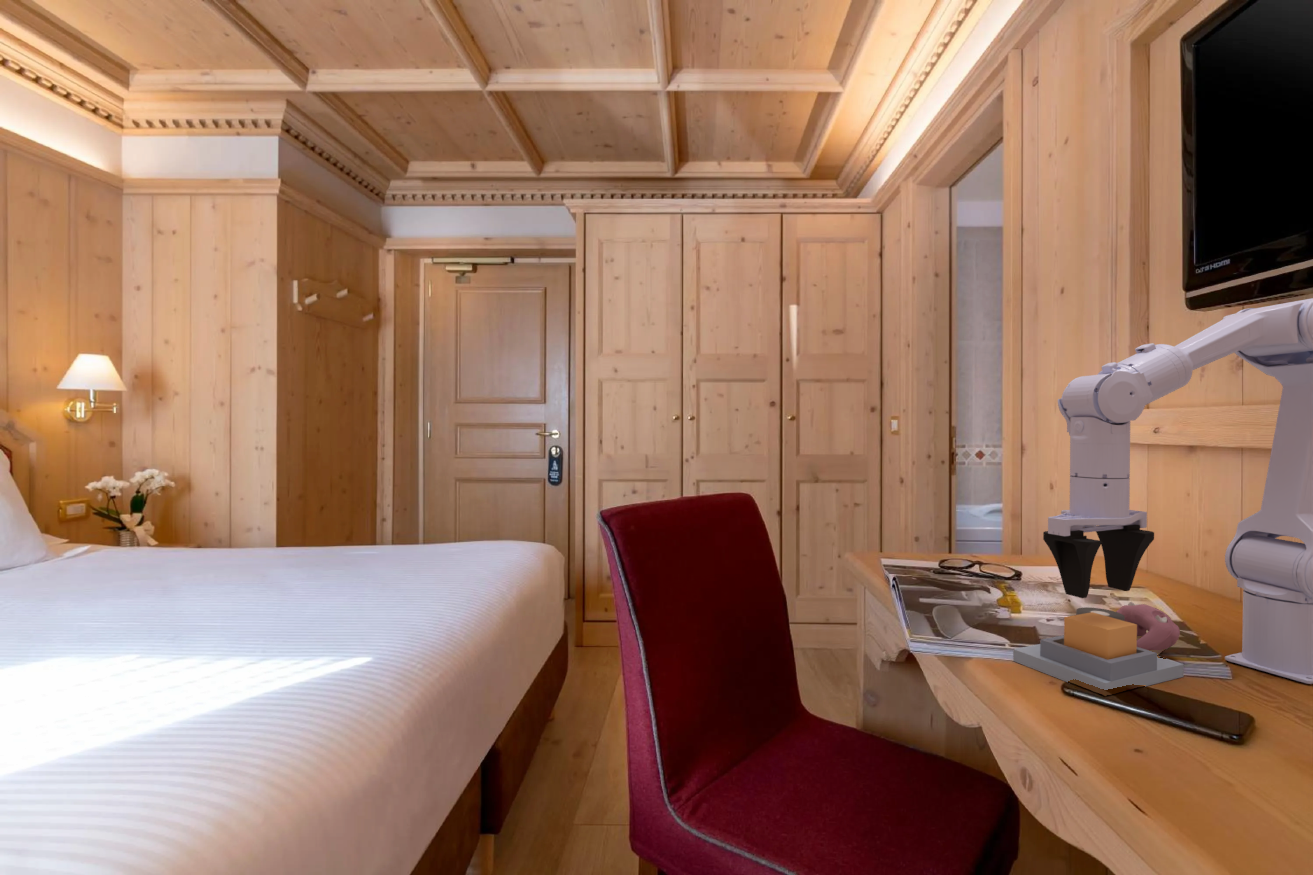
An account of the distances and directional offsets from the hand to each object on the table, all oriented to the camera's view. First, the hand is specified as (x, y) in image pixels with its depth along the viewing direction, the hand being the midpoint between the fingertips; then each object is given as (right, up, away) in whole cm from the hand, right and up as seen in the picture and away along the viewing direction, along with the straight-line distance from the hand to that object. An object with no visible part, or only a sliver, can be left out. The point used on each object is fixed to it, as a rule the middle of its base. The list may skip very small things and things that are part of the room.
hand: (1097, 592), depth 73 cm
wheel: (+5, -8, +6) cm, 11 cm away
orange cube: (0, -8, 0) cm, 8 cm away
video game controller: (+11, -10, +9) cm, 17 cm away
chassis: (+1, -10, +2) cm, 10 cm away
